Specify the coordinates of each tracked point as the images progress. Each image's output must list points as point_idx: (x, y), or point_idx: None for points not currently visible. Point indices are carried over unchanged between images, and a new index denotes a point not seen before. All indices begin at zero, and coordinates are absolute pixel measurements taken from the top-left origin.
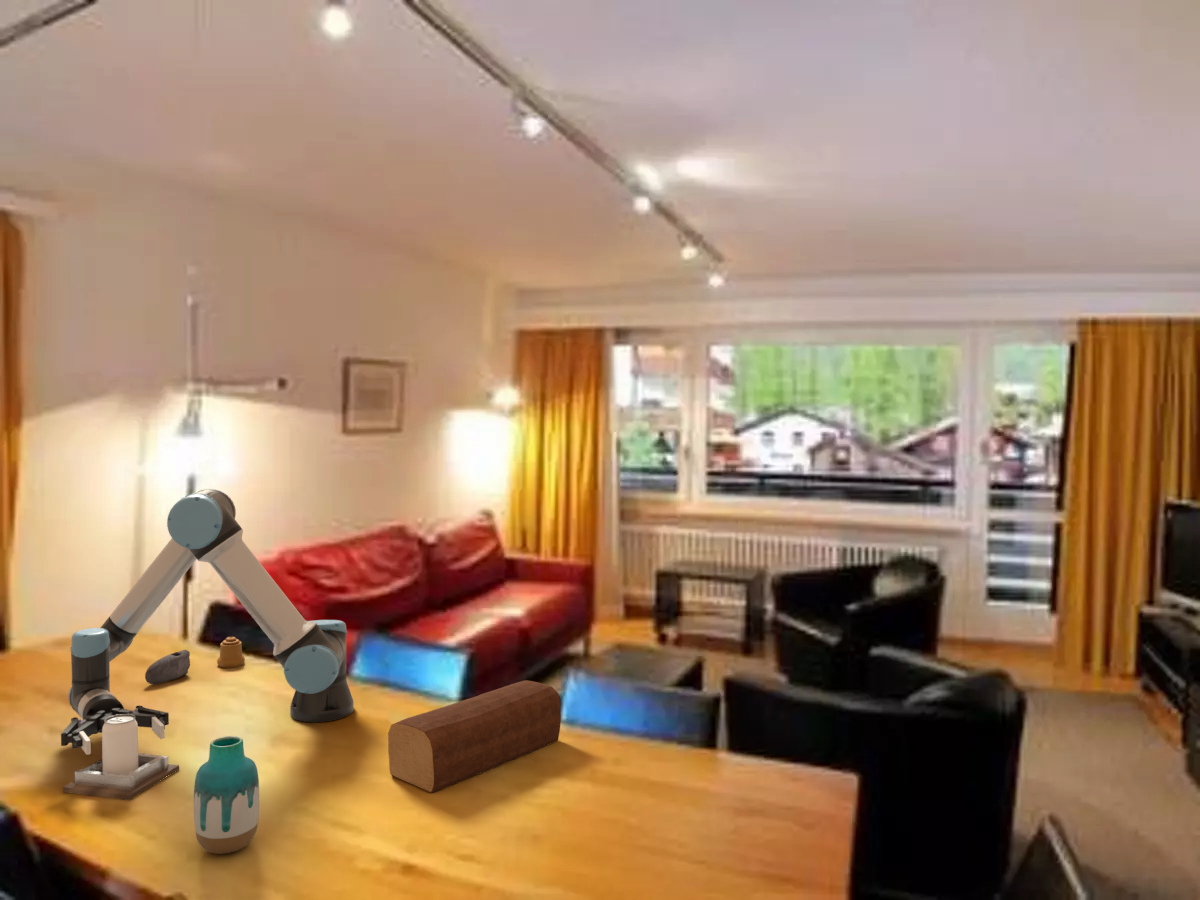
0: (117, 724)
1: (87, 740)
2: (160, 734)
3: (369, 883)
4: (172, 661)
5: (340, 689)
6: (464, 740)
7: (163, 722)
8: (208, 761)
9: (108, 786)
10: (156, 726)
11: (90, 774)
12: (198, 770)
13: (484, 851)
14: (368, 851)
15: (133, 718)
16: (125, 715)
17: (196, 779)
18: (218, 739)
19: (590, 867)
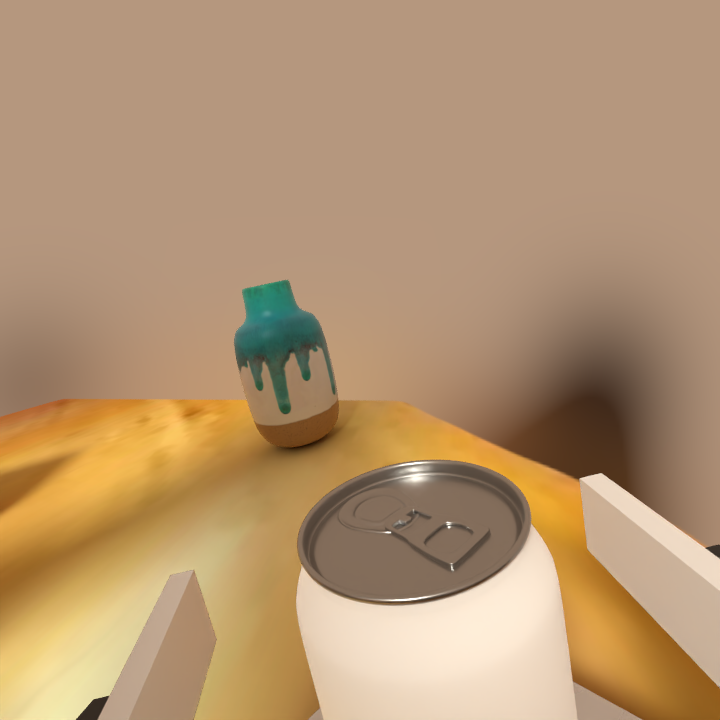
0: (427, 467)
1: (599, 480)
2: (208, 617)
3: (232, 404)
4: None
5: None
6: None
7: (88, 715)
8: (296, 305)
9: None
10: (171, 673)
11: (626, 713)
12: (311, 316)
13: (124, 424)
14: (190, 429)
15: (315, 537)
16: (356, 600)
17: (319, 324)
18: (269, 284)
19: (105, 411)
